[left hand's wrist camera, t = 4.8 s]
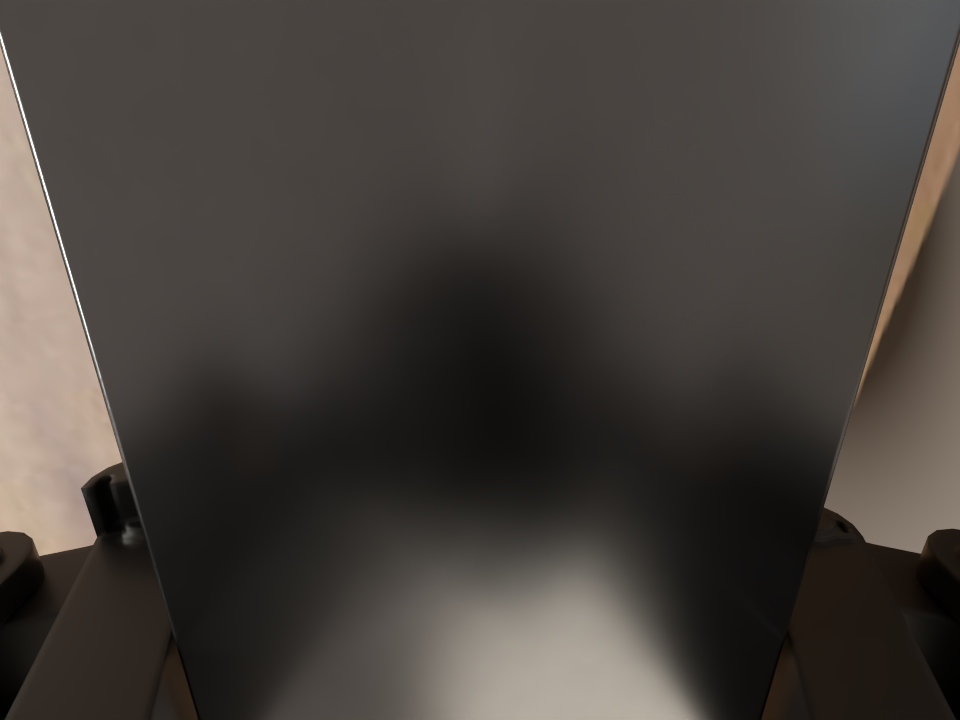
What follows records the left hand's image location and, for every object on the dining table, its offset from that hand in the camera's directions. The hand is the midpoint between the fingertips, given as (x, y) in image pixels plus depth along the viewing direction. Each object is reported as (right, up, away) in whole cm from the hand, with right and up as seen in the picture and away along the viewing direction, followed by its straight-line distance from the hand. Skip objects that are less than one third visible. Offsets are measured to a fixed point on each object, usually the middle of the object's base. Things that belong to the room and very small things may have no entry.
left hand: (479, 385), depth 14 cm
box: (0, +7, -2) cm, 7 cm away
